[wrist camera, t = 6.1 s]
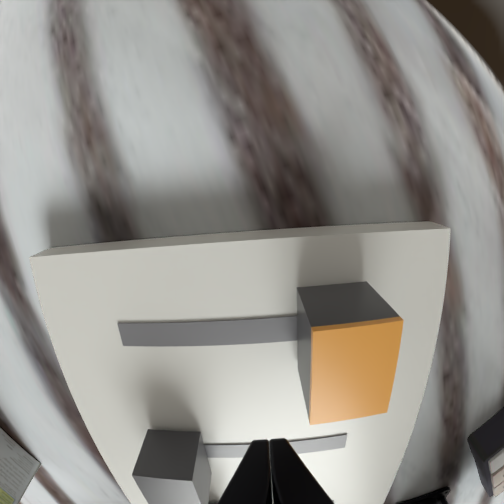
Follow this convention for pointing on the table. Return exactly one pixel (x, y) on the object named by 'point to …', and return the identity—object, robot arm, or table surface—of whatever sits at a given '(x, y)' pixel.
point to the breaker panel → (237, 343)
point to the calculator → (490, 453)
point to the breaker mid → (173, 468)
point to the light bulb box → (14, 470)
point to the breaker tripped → (346, 351)
